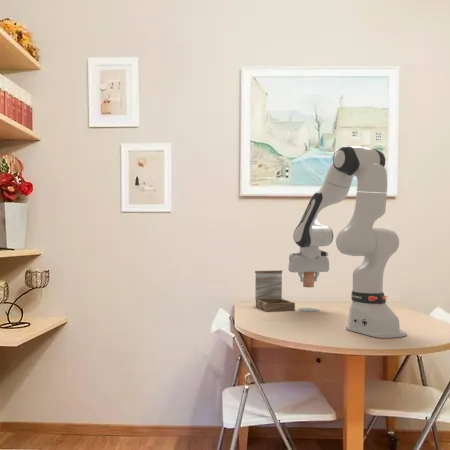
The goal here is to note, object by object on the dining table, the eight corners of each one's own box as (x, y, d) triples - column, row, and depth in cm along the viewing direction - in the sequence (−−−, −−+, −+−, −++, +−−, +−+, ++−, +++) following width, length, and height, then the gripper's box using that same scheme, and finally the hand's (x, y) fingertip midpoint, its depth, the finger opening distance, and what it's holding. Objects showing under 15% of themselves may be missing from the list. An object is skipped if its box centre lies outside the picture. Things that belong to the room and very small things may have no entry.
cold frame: (295, 311, 194) (295, 273, 194) (266, 312, 189) (267, 273, 190) (281, 306, 208) (281, 270, 208) (254, 307, 203) (255, 270, 204)
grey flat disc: (324, 312, 192) (324, 311, 192) (304, 313, 189) (304, 312, 189) (312, 308, 201) (312, 307, 201) (294, 309, 198) (294, 308, 198)
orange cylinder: (316, 287, 194) (316, 272, 194) (306, 287, 192) (306, 272, 193) (310, 285, 199) (310, 271, 199) (301, 286, 197) (301, 271, 197)
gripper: (292, 253, 190) (292, 283, 189) (331, 252, 196) (330, 282, 196) (286, 252, 196) (285, 281, 195) (324, 252, 202) (323, 280, 202)
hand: (308, 281), depth 196 cm, fingers closed on orange cylinder, 5 cm apart
